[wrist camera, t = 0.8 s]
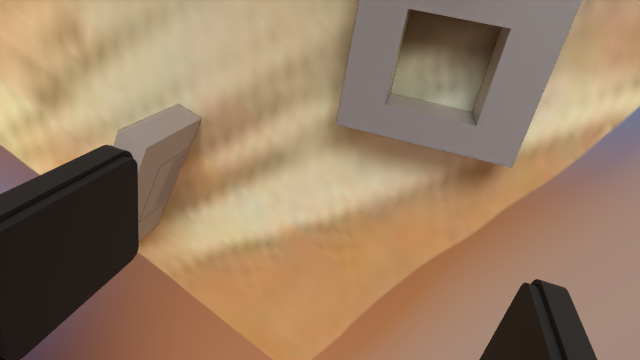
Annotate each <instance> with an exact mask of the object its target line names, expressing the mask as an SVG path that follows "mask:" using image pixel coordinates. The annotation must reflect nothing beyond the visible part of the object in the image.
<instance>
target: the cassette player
mask: <svg viewBox="0 0 640 360" xmlns="http://www.w3.org/2000/svg"><path fill="white" fill-rule="evenodd" d="M201 119H202V118H201V117H199V116H198V115H196V114H194V113H193V112H191V111H190V110H188V109H187V108H185V107H183V106H182V105H180V104H177V105H175V106H173V107H170V108H168V109H166V110H164V111H161V112H159V113H157V114H154V115H152V116H150V117H148V118H145V119H143V120H141V121H138V122H136V123H134V124H132V125H129V126H127V127H125V128H122V129H120V130H118V133H117V136H116V140H115V143H114V146H113V147H116V148H119V149H123V150H126V151H129V152H130V153H131V154H132V156H133V159H135V160H136V162H137V165H138V234H139V241H140V240H141V239H142V238H143V237H144V236H146V235H147V234H148V233H149V232H150V231H151V230H153V229H154V228H155V227H156V226H157V225H158V223H159V220H160V218H161V215H162V213H163V211H164V208H165V206H166V203H167V201H168V199H169V196H170V194H171V191H172V189H173V187H174V184H175V182H176V179H177V177H178V175H179V172H180V170H181V167H182V165H183V162H184V160H185V158H186V155H187V153H188V150H189V148H190V146H191V143H192V141H193V138H194V136H195V134H196V131H197V129H198V126H199V124H200V122H201Z"/></svg>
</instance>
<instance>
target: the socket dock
mask: <svg viewBox="0 0 640 360" xmlns="http://www.w3.org/2000/svg"><path fill="white" fill-rule="evenodd" d="M581 1H582V0H359V5H358V10H357V16H356V21H355V26H354V31H353V37H352V42H351V47H350V52H349V58H348V63H347V68H346V73H345V78H344V84H343V89H342V94H341V99H340V105H339V110H338V115H337V120H336V125H340V126H344V127H348V128H352V129H356V130H360V131H364V132H368V133H372V134H376V135H380V136H384V137H389V138H393V139H397V140H401V141H405V142H409V143H413V144H417V145H421V146H425V147H429V148H433V149H437V150H442V151H446V152H450V153H454V154H458V155H462V156H466V157H470V158H474V159H478V160H482V161H486V162H491V163H495V164H499V165H503V166H507V167H511V168H512V166H513V164H514V161H515V159H516V157H517V154H518V152H519V149H520V147H521V145H522V142H523V140H524V137H525V135H526V133H527V130H528V128H529V125H530V123H531V121H532V118H533V116H534V114H535V111H536V109H537V106H538V104H539V102H540V99H541V97H542V94H543V92H544V90H545V87H546V85H547V82H548V80H549V78H550V75H551V73H552V70H553V68H554V66H555V63H556V61H557V58H558V56H559V54H560V51H561V49H562V46H563V44H564V42H565V39H566V37H567V35H568V32H569V30H570V27H571V25H572V23H573V20H574V18H575V15H576V13H577V11H578V8H579V6H580V3H581ZM411 9H412V10H417V11H423V12H428V13H433V14H438V15H443V16H448V17H454V18H459V19H464V20H469V21H474V22H479V23H485V24H490V25H495V26H500V27H502V28H501V31H500V34H499V37H498V40H497V43H496V45H495V48H494V51H493V54H492V57H491V60H490V63H489V66H488V69H487V71H486V74H485V77H484V80H483V83H482V86H481V89H480V92H479V95H478V97H477V100H476V103H475V106H474V109H473V112H469V111H464V110H460V109H456V108H451V107H447V106H443V105H438V104H434V103H429V102H425V101H421V100H416V99H412V98H407V97H403V96H399V95H394V94H390V92H391V88H392V84H393V80H394V76H395V72H396V67H397V63H398V59H399V55H400V51H401V47H402V43H403V39H404V35H405V31H406V27H407V23H408V19H409V15H410V11H411Z"/></svg>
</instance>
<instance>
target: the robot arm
mask: <svg viewBox="0 0 640 360" xmlns="http://www.w3.org/2000/svg"><path fill="white" fill-rule="evenodd" d="M138 247H139V234H138V165H137V162H136V160H135V159H133V156H132V154H131V153H130V152H129V151H126V150H123V149H119V148H116V147H113V146H110V145H104V146H101V147H99V148H97V149H95V150H93V151H91V152H89V153H87V154H85V155H82V156H80V157H78V158H76V159H74V160H72V161H70V162H68V163H66V164H63V165H61V166H59V167H57V168H55V169H53V170H51V171H49V172H47V173H44V174H42V175H40V176H38V177H36V178H34V179H32V180H30V181H28V182H25V183H23V184H21V185H19V186H17V187H15V188H13V189H11V190H9V191H6V192H4V193H2V194H0V360H20V359H21V358H23V357H24V356H25V355H26V354H27V353H29V352H30V351H31V350H32V349H33V348H34V347H35V346H36V345H38V344H39V343H40V342H41V341H42V340H43V339H44V338H45V337H47V336H48V335H49V334H50V333H51V332H52V331H53V330H54V329H56V328H57V327H58V325H60V324H61V323H62V322H63V321H64V320H66V318H68V317H69V316H70V315H71V314H72V313H73V312H75V311H76V310H77V309H78V308H79V307H80V306H81V305H82V304H83V303H84V302H86V301H87V300H88V299H89V298H90V297H91V296H92V295H94V294H95V293H96V292H97V291H98V290H99V289H100V288H101V287H103V286H104V285H105V284H106V283H107V282H108V281H109V280H110V279H111V278H113V277H114V276H115V275H116V274H117V273H118V272H119V271H120V270H121V269H122V268H124V267H125V266H126V265H127V264H128V263H129V262H131V261H132V260H133V258H134V257H135V255H136V253H137V251H138ZM480 360H597V358H596V356H595V353H594V351H593V349H592V346H591V344H590V342H589V340H588V337H587V335H586V332H585V330H584V328H583V325H582V323H581V321H580V318H579V316H578V314H577V311H576V309H575V307H574V304H573V302H572V300H571V297H570V295H569V293H568V291H567V289H566V288H564V287H561V286H558V285H554V284H551V283H548V282H545V281H542V280H538V279H537V280H534V281H533V282H532V283H531V284H529V283H524V284H522V286H521V287H520V289H519V291H518V292H517V294H516V296H515V297H514V299H513V301H512V303H511V305H510V306H509V308H508V310H507V312H506V313H505V315H504V317H503V319H502V321H501V322H500V324H499V326H498V328H497V330H496V331H495V333H494V335H493V337H492V339H491V340H490V342H489V344H488V346H487V347H486V349H485V351H484V353H483V355H482V356H481V358H480Z"/></svg>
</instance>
